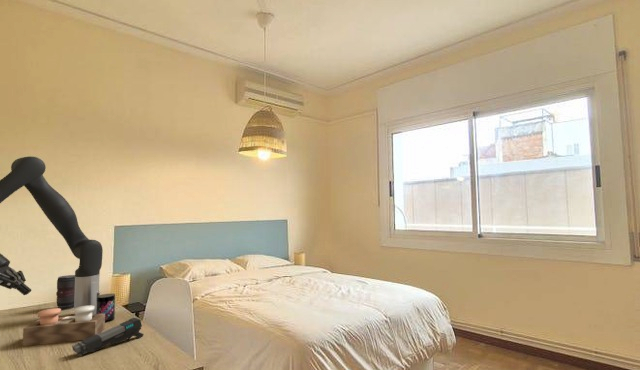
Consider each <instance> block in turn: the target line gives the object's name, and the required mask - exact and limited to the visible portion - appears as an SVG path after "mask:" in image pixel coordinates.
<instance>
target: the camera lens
mask: <svg viewBox="0 0 640 370" xmlns="http://www.w3.org/2000/svg"><path fill="white" fill-rule="evenodd" d="M74 294H75V274H70V275H69V274H68V275H60V276H58V277H57V280H56V307H57V308H60V309H61V311H63V310H70V309H74Z"/></svg>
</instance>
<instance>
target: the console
mask: <svg viewBox="0 0 640 370" xmlns="http://www.w3.org/2000/svg"><path fill="white" fill-rule="evenodd" d="M105 329H106V323H105V314H94V315H92V319H91V320H90V321H80V322H75V316H74V315H70V316H62V317H61V316H60V317H58V322H57V323H55V324H48V325H40V318H39V319H37V320H36V321H34V322H31V323H30V324H29V325H27V326H25V327H23V328H22V330H23V331H22V347H29V346H38V345H47V344H53V343H54V344H57V343H64V342H73V341H76V342H77V341H82V340H85V339H87V338H89V337H91V336H94V335H96V334H100V333H102V332H104V331H105Z"/></svg>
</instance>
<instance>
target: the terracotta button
mask: <svg viewBox="0 0 640 370" xmlns="http://www.w3.org/2000/svg"><path fill="white" fill-rule="evenodd" d="M61 313H62V310H61V309H60V308H58V307H55V308H47V309H43V310H40V311H38V312H37V318H38V317H39V319H40V325H48V324H55V323H57V322H58V318H59V315H60V314H61Z"/></svg>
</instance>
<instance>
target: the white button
mask: <svg viewBox="0 0 640 370" xmlns="http://www.w3.org/2000/svg"><path fill="white" fill-rule="evenodd" d="M94 309H95V306H92V305H89V306H81V307H77V308H72V313H73V315H74V314H75V322H80V321H90V320H91V319H92V311H94Z"/></svg>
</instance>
